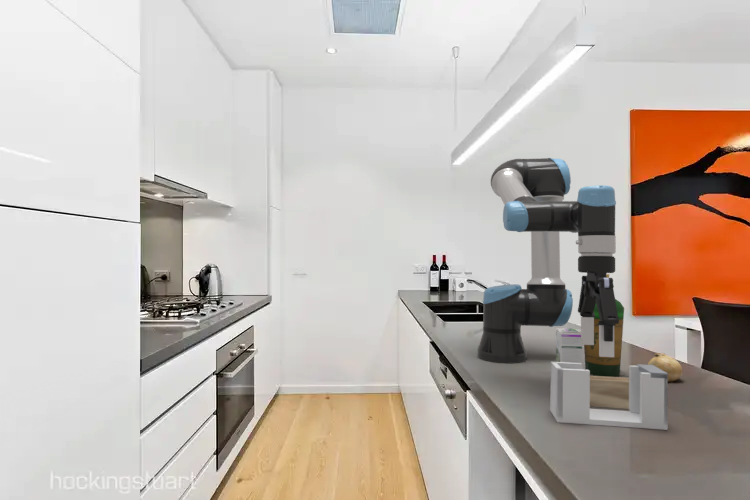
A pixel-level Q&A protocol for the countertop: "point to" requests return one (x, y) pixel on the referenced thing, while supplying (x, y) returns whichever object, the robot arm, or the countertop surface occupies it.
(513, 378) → the countertop surface
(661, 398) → the white open holder
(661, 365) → the tan round lump
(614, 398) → the tan wooden block
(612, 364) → the bottle
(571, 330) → the syrup box
